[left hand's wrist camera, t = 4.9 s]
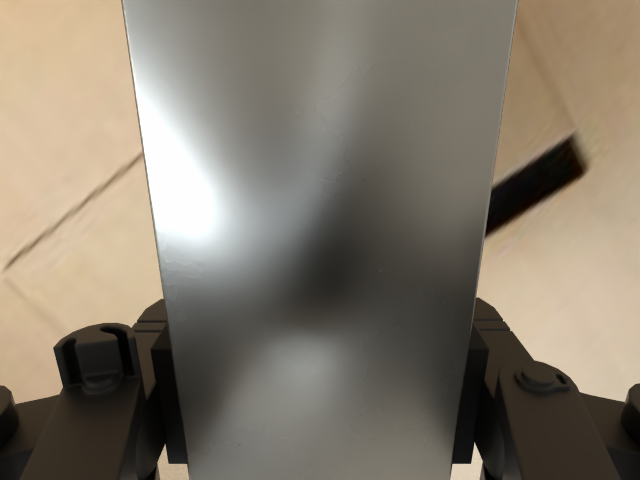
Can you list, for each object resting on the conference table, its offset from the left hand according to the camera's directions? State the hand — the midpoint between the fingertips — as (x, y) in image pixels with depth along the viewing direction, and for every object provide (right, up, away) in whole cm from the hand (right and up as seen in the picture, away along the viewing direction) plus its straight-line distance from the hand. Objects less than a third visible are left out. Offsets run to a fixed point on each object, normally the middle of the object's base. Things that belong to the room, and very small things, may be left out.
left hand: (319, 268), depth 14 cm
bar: (0, +9, -3) cm, 9 cm away
